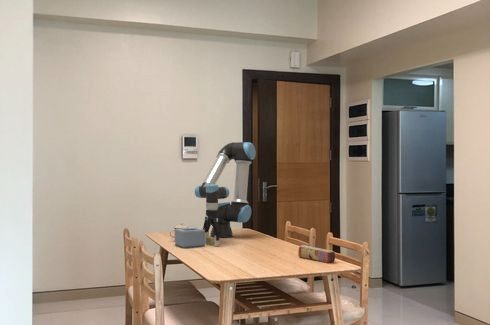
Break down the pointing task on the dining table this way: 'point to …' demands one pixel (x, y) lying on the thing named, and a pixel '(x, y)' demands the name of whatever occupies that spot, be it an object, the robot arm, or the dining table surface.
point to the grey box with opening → (190, 237)
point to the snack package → (316, 254)
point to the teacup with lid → (178, 228)
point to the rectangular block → (210, 241)
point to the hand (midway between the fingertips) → (211, 244)
